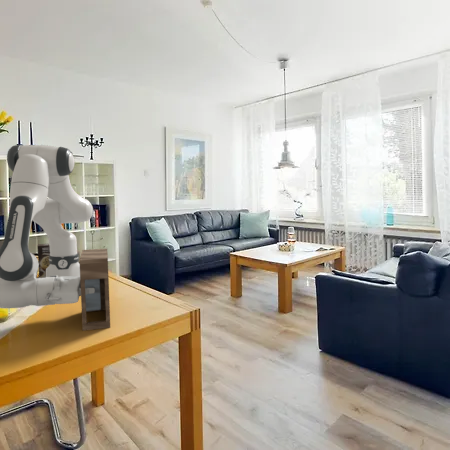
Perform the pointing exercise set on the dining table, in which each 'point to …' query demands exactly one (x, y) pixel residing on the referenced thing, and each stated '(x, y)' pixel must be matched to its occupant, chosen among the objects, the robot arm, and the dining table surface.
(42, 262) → the coffee box
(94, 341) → the dining table surface
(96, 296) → the slate block
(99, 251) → the walnut box
